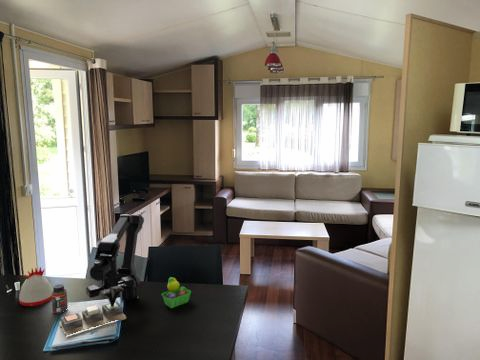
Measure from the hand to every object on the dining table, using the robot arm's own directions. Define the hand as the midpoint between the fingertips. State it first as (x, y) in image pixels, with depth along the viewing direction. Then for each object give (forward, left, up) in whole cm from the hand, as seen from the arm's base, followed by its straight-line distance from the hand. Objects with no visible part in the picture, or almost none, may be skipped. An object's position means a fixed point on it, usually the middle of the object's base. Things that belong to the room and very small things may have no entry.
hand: (112, 305), depth 159 cm
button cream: (+8, 0, -1) cm, 8 cm away
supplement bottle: (+17, -18, -5) cm, 25 cm away
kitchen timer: (+23, -37, -5) cm, 44 cm away
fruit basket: (-26, +6, -5) cm, 28 cm away
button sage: (0, 0, -3) cm, 3 cm away
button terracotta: (+16, 0, -3) cm, 16 cm away
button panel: (+8, 0, -4) cm, 9 cm away
